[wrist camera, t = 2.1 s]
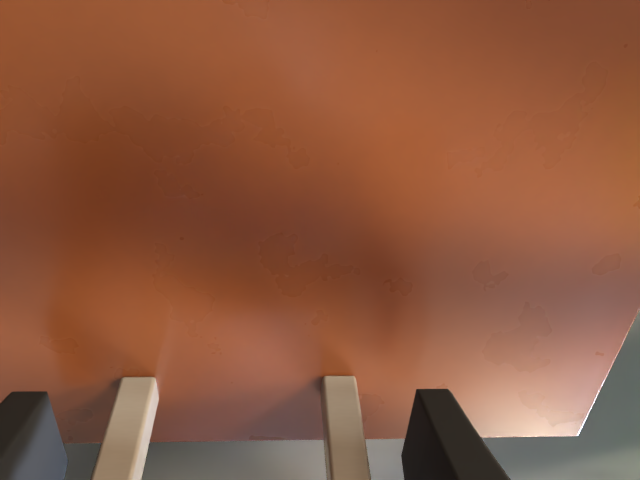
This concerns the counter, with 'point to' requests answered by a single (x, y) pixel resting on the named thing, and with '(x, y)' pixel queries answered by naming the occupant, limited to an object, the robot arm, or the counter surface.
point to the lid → (315, 216)
